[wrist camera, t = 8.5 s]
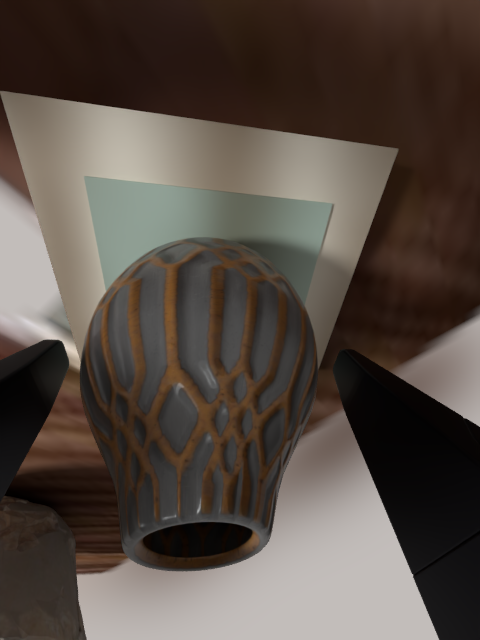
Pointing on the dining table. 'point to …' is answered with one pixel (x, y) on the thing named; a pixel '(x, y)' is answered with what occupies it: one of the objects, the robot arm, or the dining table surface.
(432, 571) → the robot arm
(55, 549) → the ceramic bowl
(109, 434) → the vase
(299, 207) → the plinth
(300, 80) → the dining table surface
